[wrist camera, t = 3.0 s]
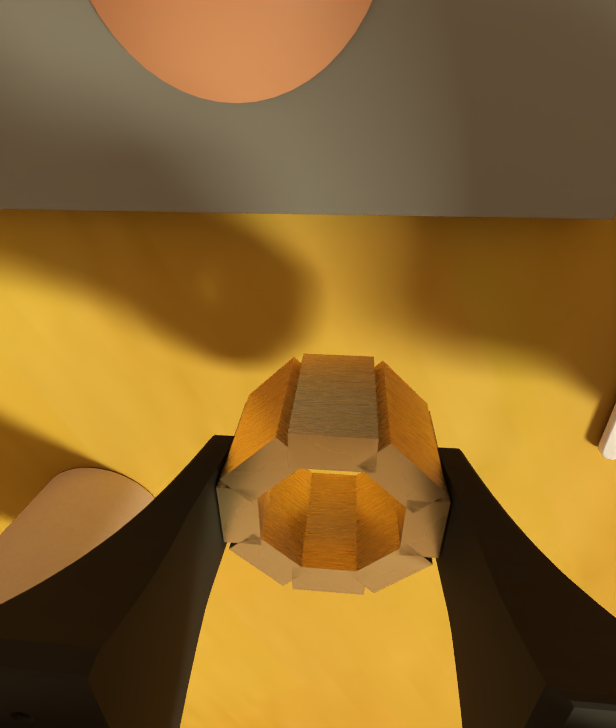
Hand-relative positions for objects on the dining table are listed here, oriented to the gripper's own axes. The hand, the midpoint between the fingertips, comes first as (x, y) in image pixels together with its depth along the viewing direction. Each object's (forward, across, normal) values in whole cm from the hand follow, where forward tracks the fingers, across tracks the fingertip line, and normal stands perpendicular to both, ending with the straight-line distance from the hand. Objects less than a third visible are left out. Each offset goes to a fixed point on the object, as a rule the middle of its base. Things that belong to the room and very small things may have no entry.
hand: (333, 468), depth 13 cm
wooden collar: (+2, 0, 0) cm, 2 cm away
